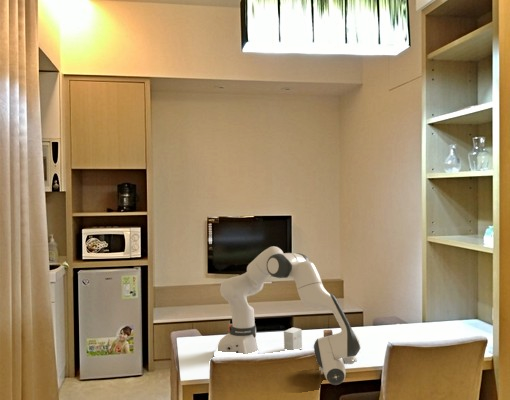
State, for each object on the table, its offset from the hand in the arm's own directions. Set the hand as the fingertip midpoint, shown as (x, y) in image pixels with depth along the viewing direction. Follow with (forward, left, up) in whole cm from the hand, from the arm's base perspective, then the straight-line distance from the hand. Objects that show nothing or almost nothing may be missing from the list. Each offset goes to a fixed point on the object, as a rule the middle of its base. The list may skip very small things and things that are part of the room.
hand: (330, 350), depth 209 cm
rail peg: (0, +12, -7) cm, 14 cm away
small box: (-17, +19, -7) cm, 27 cm away
